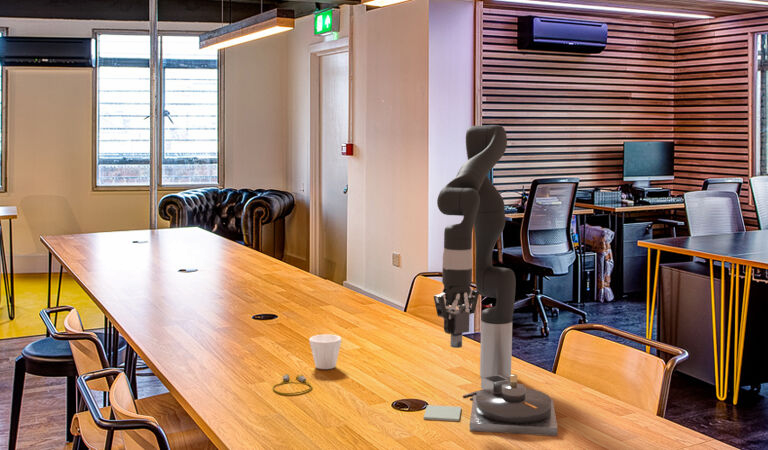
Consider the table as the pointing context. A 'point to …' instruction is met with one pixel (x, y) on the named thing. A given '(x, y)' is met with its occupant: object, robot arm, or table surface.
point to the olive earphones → (286, 378)
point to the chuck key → (459, 327)
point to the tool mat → (442, 413)
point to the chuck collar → (511, 401)
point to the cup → (325, 350)
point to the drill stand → (513, 424)
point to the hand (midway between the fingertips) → (455, 331)
